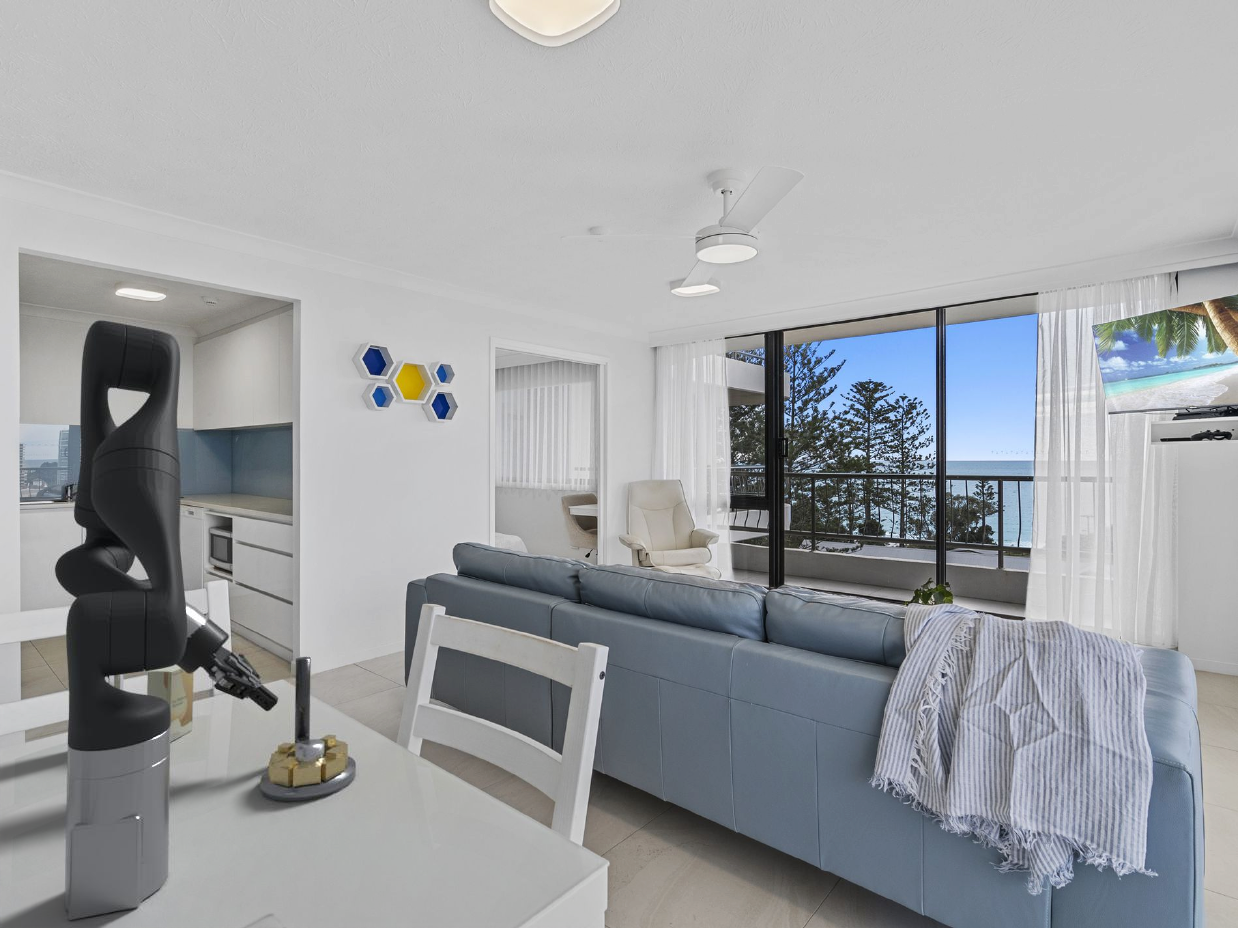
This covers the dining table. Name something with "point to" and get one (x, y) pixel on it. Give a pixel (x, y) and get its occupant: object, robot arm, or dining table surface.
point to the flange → (290, 794)
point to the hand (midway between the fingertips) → (273, 705)
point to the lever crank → (284, 761)
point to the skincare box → (174, 696)
